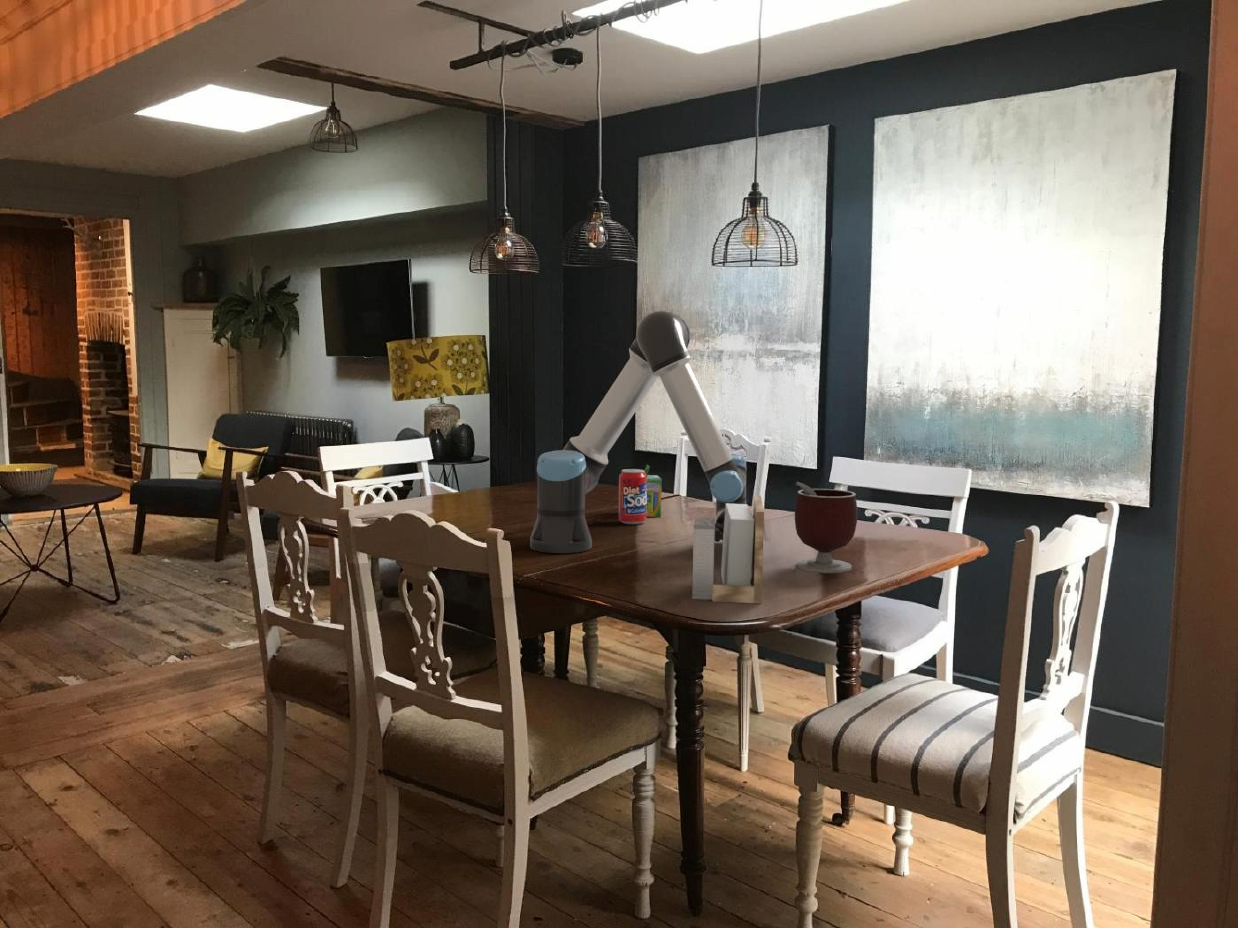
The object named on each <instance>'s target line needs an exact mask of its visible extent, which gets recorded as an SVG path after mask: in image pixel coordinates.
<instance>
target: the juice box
mask: <svg viewBox="0 0 1238 928" xmlns="http://www.w3.org/2000/svg"><path fill="white" fill-rule="evenodd" d="M650 469H651V467H650V465H648V464H646V466H645V468H644V471H645V474H646V476H647V517H646V518H662V489H663V488H662V487H663V486H662V482H663V480H662V478H661V477H660V476H659V475H657V474H649V472H650Z"/></svg>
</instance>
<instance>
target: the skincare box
mask: <svg viewBox="0 0 1238 928" xmlns="http://www.w3.org/2000/svg"><path fill="white" fill-rule="evenodd" d="M754 521H755V520H754V518H753V513H752V512H751V509H750V507H749V504H747V503H746V504H729V503H726V504H725V521H724V535H723V540H722V553H721V554H722V555H721V570H720V574H721V580H722V585H735V586H752V578H751V576H752V555H753V538H754Z"/></svg>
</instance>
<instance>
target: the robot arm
mask: <svg viewBox="0 0 1238 928" xmlns="http://www.w3.org/2000/svg"><path fill="white" fill-rule="evenodd" d="M690 341H691V333H690V330H689V326H688V324H687V322H686V321H685V320H684V319H683V318H682V317H680V316H679V315H677V314H676V313H673V312H671V311H666V310H665V311H663V310H658V311H653V312H651V313H648V314H647V315H645V316H643V318H642V319H641V321H640V322H639V323H638V326H637V329H636V337H635V338H634V340H633V342H632V344H630V347H629V348H628V351H629V359H628V361H627V362H626V363H625V365H624V367H623V369H622V370H621V371H620V373H619V374H618V376H617V378H616V379H615V380H614V382H613V383H612V385H611V387H610V388H609V390H607V392H606V394H605V395H604V397H603V399H602V400H601V402H600V403H599V405H598V407H597V408H596V409H595V411H594V413H593V414H592V415H591V417H590V418H589V419H588V422H587V423H586V425H585V426H584V428H583V429H582V431H581V432H580V434H579V435H578V436H573V437H572V436H571V437H570V439H569V440H568V441H567V443H566V444H565V446H564V448H563V449H562V450H561V449H559V450H558V449H557V450H552V451H547V452H544V453H542V454H540V455H539V457H537V466H536V472H537V479H536V480H537V485H536V486H537V489H536V491H537V493H536V495H537V497H536V499H537V507H536V508H537V512H536V513H537V514H536V516H537V517H536V520H535V523H534V526H533V529H532V531H531V535H530V540H529V548H530V549H531V550H534V551H536V552H541V553H549V554H572V553H573V554H574V553H581V552H582V553H583V552H587V551H589V550H591V549H592V548H593V547H592V546H593V545H592V542H593V539H592V535H591V533H590V529H589V526H588V523H587V520H586V515H585V514H586V511H585V510H586V508H585V507H586V495H587V494H589V493H590V492H592V490H594V489H595V487H596V486H597V484H598V483H599V480H600V476H601V475H602V473H603V472H604V470H605V469H606V467H607V466H608V464H609V459H608V453H609V451H610V450H611V449H612V447H613V446H614V445H615V443H616V441H617V440H618V438H620V436H621V434H622V433H623V431H624V430H625V428H626V426H628V424H629V422H630V420H631V419H632V418H633V416H634V414H635V413H636V411H637V410H638V408H639V407H640V405H641V404H642V403H643V401H644V399H645V398H646V396H647V395H648V394H649V392H650V390H651V389H652V387H653V386H654V384H655V383H656V381H657V379H658V378H660V380H661V382H662V385H663V387H664V389H665V391H666V394H667V396H668V397H669V400H670V402H671V404H672V406H673V408H674V410H675V412H676V415H677V417H678V418H679V420H680V423H681V425H682V427H683V429H684V431H685V433H686V436H687V437H688V440H689V442H690V444H691V446H692V448H693V451H694V453H695V455H696V457H697V460H698V461H699V463H700V465H701V468H702V469H703V472H704V475H705V476H706V479H707V480H708V483H709V488H710V492H711V495H712V496H713V498H715V509H716V510H715V540H714V542H717V543H718V542H721V541H723V535H724V521H725V504H726V503H729V504H747V470H748V469H747V460H746V457H744V456H743V455H738V454H737V455H736V454H735V455H734V454H732V453H731V452H730V450H729V447H728V445H727V443H726V441H725V439H724V437H723V435H722V433H721V430H720V428H719V426H718V423H717V422H716V419H715V418H714V415H713V413H712V411H711V408H710V406H709V404H708V402H707V400H706V398H705V396H704V393H703V391H702V389H701V387H700V385H699V383H698V381H697V379H696V377H695V374H694V372H693V370H692V367H691V366H690V360H691V355H690V353H689V351H688V347H689V344H690Z"/></svg>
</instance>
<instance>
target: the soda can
mask: <svg viewBox="0 0 1238 928" xmlns="http://www.w3.org/2000/svg"><path fill="white" fill-rule="evenodd" d="M647 518H648V517H647V476H646V474H645V469H639V468H638V469H636V468H632V469H631V468H629V469H622V470H621V473H620V474H619V476H618V520H619V522H621V524H625V525H628V526H629V525H635V526H636V525H642V524H643V523H645V522H646V521H647Z"/></svg>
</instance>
